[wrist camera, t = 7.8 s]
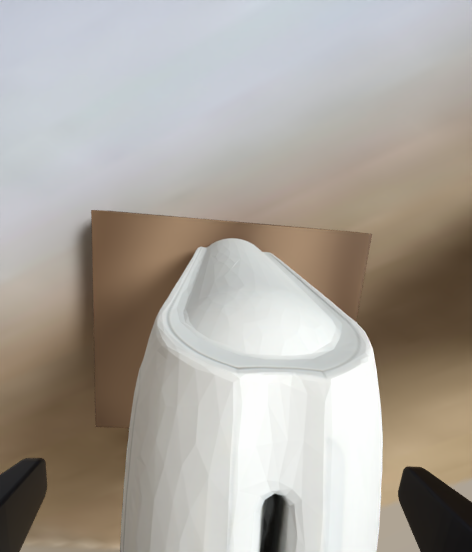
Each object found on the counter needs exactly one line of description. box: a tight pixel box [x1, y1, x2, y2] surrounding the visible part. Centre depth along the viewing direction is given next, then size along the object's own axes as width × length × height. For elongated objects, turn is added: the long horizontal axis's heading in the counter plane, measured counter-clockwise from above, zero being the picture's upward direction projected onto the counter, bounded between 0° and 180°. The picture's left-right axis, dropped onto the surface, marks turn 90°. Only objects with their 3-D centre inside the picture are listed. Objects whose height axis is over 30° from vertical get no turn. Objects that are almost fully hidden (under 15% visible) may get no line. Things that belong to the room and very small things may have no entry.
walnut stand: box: [91, 210, 372, 428], centre depth 16 cm, size 14×12×2 cm
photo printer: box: [120, 238, 383, 552], centre depth 9 cm, size 10×4×12 cm, turn 175°
